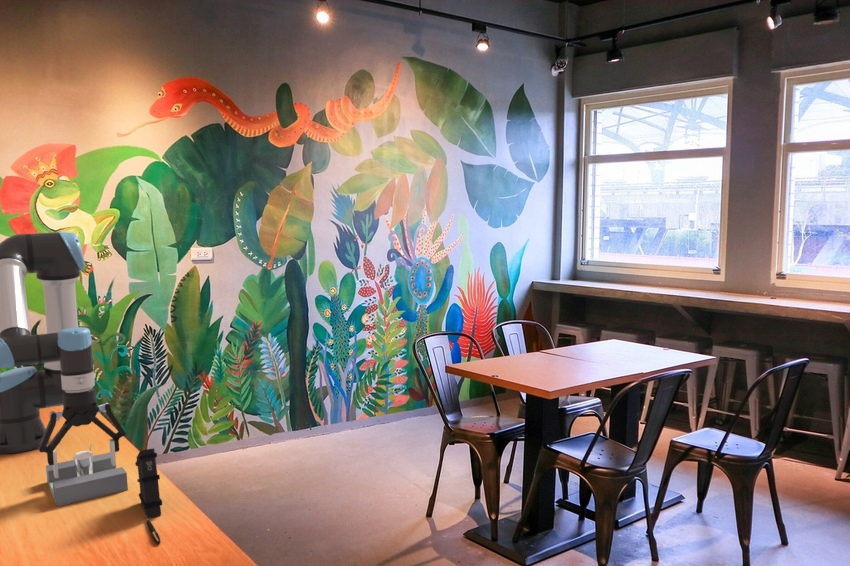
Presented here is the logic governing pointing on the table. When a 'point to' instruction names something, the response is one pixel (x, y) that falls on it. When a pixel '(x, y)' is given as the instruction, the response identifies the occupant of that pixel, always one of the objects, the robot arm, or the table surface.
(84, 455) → the milkshake
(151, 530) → the fountain pen
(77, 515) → the table surface
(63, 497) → the frame
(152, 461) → the black ribbed column
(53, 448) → the robot arm
